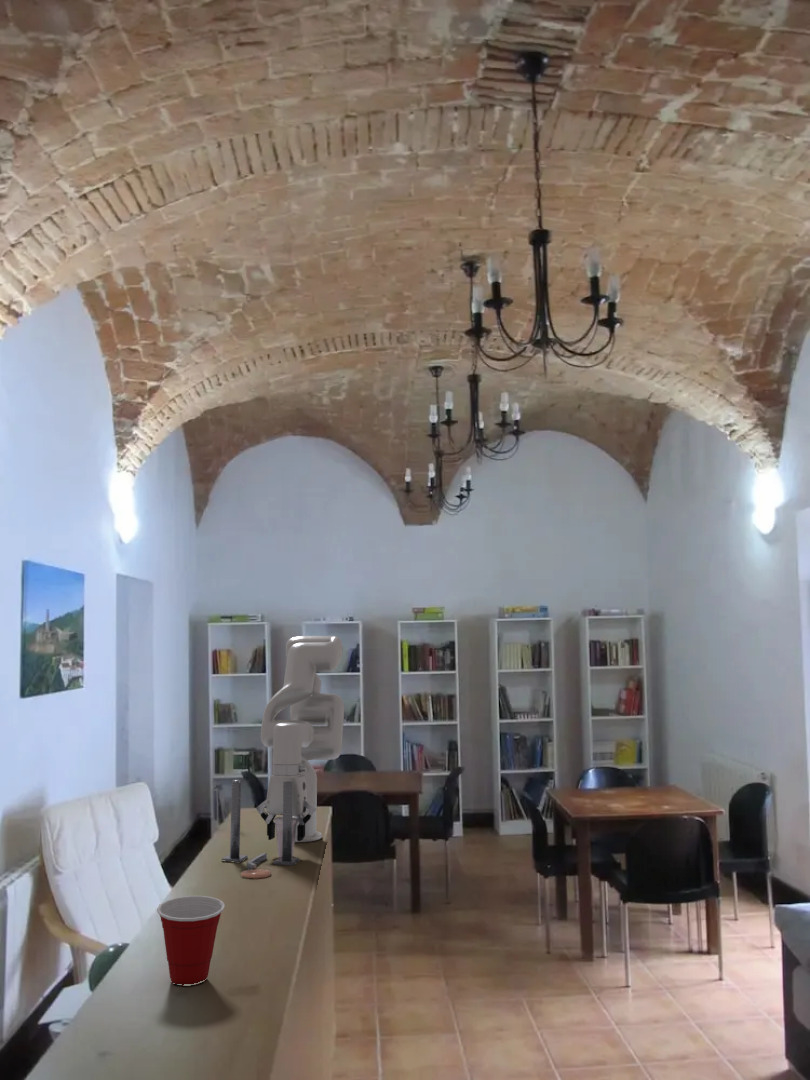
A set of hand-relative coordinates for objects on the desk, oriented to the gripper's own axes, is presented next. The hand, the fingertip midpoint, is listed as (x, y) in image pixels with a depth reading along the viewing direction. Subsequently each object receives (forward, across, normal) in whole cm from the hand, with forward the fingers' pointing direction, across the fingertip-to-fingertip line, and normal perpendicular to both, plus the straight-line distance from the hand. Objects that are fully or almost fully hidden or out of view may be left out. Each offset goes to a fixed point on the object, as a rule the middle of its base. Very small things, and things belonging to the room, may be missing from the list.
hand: (285, 839), depth 242 cm
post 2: (+4, -3, +7) cm, 9 cm away
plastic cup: (+5, -16, +91) cm, 92 cm away
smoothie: (+5, 0, 0) cm, 5 cm away
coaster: (+4, 0, +21) cm, 21 cm away
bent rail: (+4, +3, +11) cm, 12 cm away
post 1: (+4, +11, +7) cm, 14 cm away
